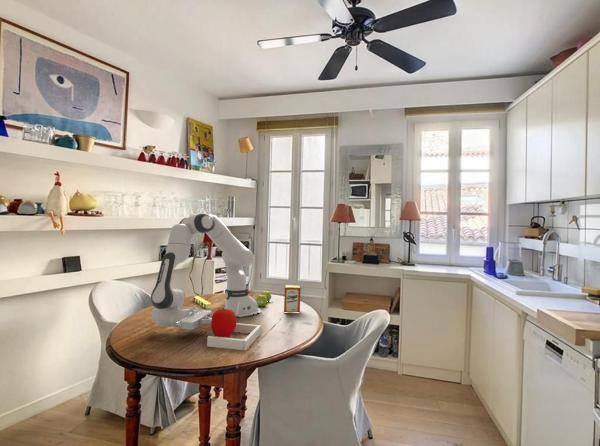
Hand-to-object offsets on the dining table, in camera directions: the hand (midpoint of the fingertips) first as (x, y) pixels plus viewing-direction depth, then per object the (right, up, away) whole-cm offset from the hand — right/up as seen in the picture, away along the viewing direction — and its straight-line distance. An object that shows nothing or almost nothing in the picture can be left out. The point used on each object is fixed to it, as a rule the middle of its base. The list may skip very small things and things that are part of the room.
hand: (212, 321), depth 154 cm
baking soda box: (+36, -9, +49) cm, 61 cm away
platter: (-24, -7, +57) cm, 62 cm away
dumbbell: (+16, -9, +66) cm, 69 cm away
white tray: (+10, -8, -2) cm, 13 cm away
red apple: (+5, -8, -1) cm, 10 cm away
